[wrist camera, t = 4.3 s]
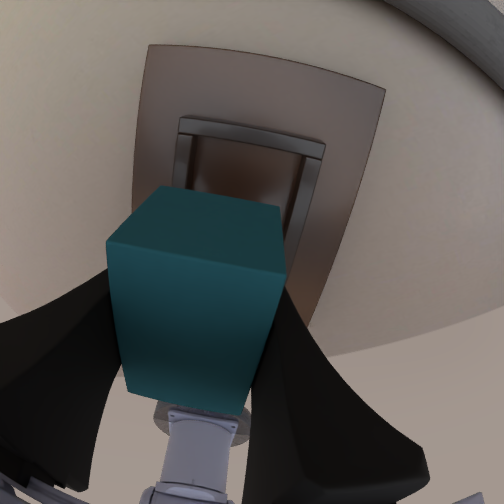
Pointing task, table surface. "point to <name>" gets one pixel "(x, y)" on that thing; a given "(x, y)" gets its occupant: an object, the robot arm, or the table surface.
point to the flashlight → (464, 29)
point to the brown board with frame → (260, 144)
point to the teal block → (195, 295)
